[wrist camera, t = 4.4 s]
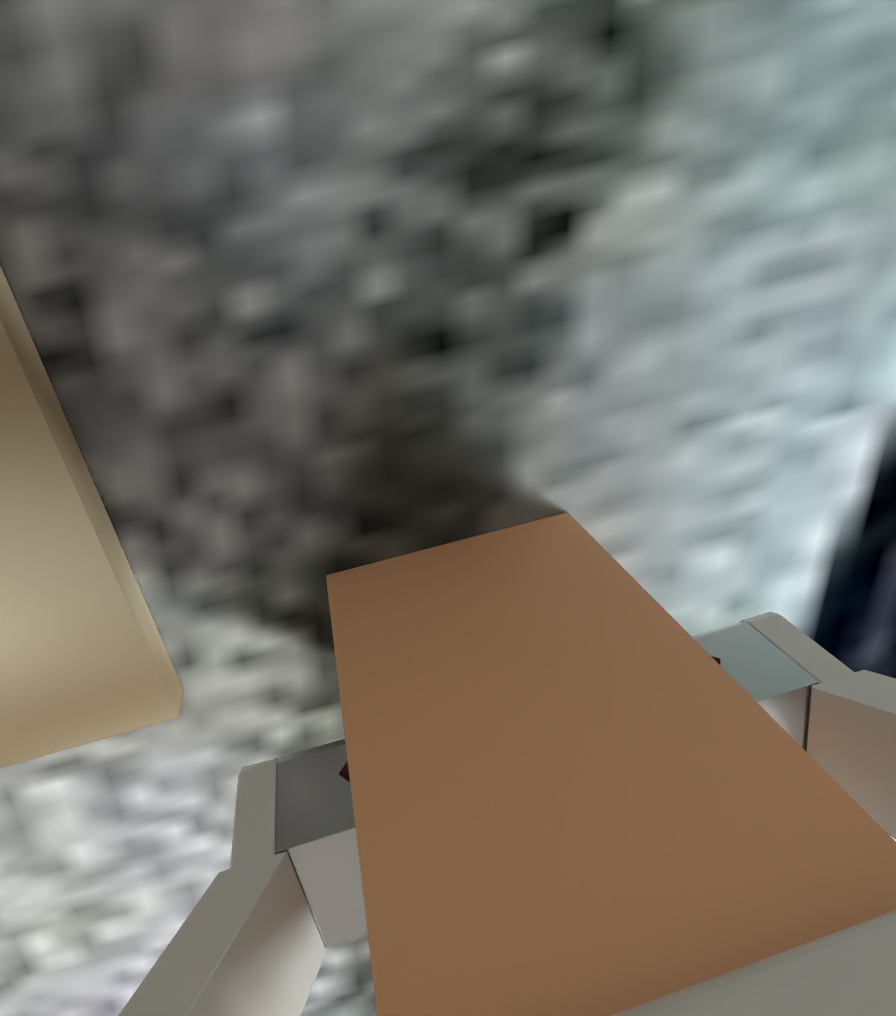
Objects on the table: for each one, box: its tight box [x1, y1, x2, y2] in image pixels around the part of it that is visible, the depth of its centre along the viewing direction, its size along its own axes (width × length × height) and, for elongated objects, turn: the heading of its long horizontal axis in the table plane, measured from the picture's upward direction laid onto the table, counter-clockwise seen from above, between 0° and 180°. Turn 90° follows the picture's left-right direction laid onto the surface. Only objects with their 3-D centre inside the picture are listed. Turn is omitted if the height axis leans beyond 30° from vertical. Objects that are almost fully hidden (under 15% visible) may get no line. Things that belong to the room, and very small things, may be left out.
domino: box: [326, 512, 896, 1016], centre depth 10 cm, size 2×5×9 cm, turn 100°
